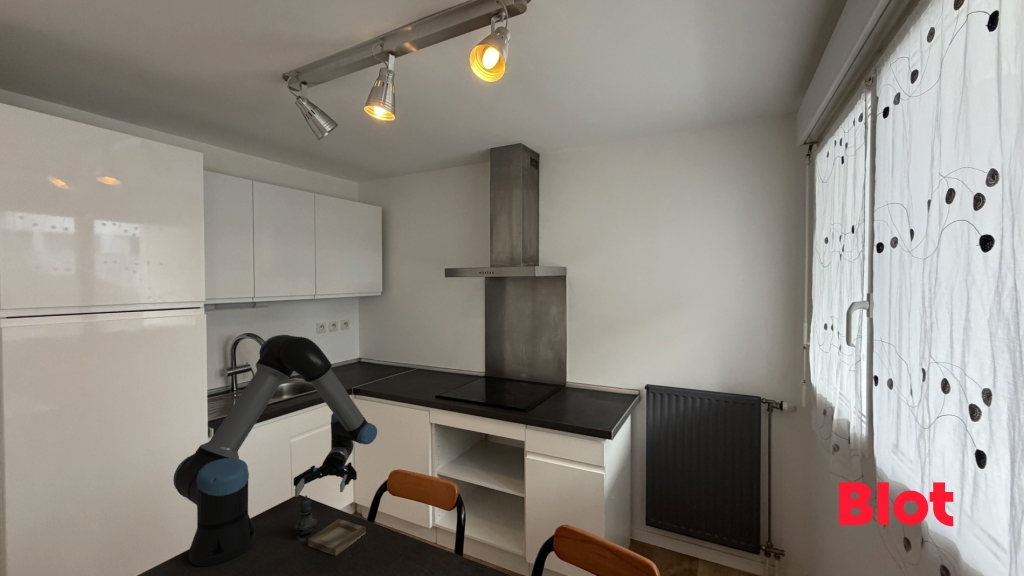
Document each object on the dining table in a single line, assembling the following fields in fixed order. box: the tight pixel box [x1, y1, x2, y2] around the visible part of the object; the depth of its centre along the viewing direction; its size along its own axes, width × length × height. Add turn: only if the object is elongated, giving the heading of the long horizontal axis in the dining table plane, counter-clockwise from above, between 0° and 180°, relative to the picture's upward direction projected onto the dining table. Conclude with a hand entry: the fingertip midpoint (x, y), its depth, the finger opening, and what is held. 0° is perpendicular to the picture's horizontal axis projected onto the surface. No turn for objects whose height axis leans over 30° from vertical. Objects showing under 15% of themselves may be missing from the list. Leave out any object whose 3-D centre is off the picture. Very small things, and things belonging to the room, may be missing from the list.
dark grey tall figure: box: [294, 495, 318, 542], centre depth 117 cm, size 6×6×12 cm
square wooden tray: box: [307, 518, 367, 557], centre depth 115 cm, size 11×11×2 cm
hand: (318, 490), depth 127 cm, fingers open, 13 cm apart
